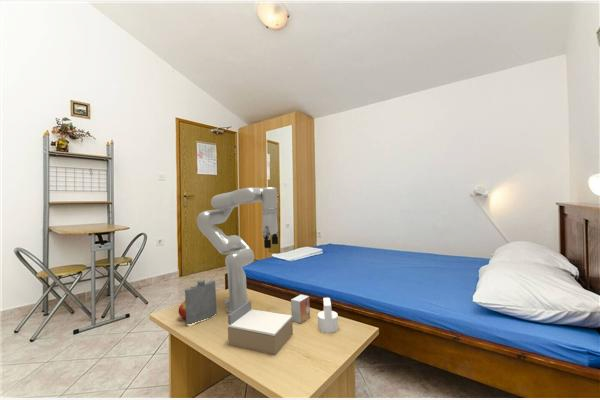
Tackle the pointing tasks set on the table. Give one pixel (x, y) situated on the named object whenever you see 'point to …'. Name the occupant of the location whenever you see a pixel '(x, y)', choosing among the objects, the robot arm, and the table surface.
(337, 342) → the table surface
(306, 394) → the table surface
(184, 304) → the apple
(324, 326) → the base with upright slab
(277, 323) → the lid
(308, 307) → the small box
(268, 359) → the table surface
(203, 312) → the grey flat upright block
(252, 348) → the tray
